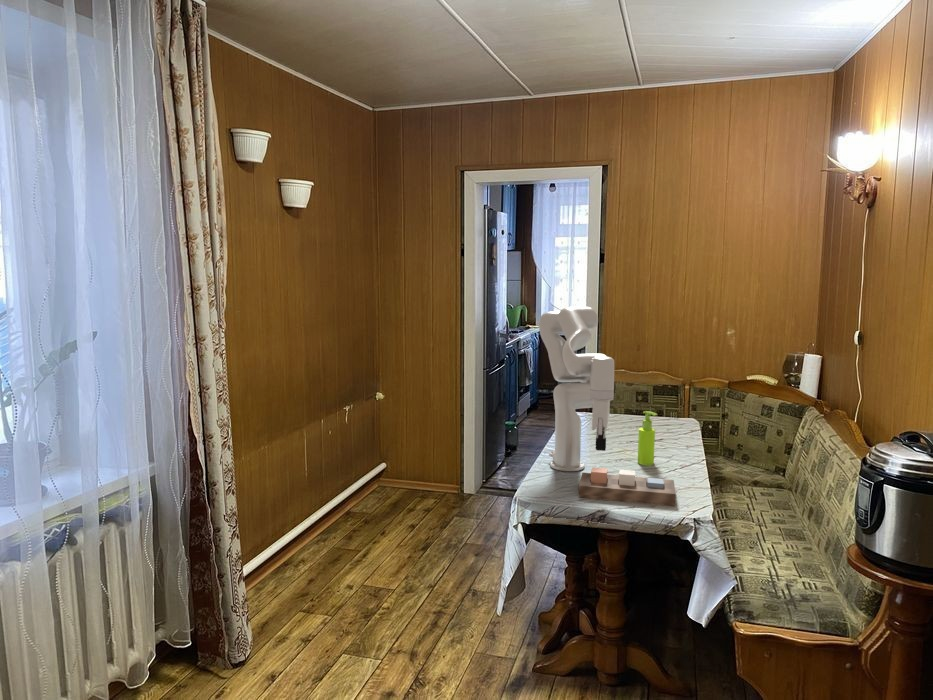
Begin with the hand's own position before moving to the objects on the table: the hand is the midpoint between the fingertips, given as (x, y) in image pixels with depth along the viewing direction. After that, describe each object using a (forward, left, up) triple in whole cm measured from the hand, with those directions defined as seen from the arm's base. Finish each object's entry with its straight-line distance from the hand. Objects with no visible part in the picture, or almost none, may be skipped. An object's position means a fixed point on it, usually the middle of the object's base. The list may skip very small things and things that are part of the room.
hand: (600, 449), depth 219 cm
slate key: (+13, +12, -13) cm, 22 cm away
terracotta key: (-1, 0, -11) cm, 11 cm away
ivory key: (+6, +6, -11) cm, 14 cm away
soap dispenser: (-13, +39, -15) cm, 44 cm away
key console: (+6, +6, -15) cm, 17 cm away
